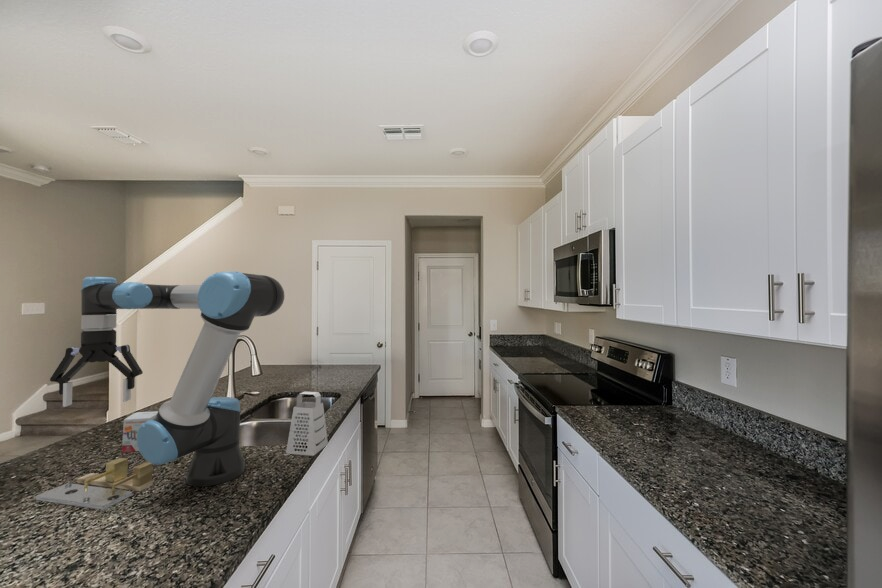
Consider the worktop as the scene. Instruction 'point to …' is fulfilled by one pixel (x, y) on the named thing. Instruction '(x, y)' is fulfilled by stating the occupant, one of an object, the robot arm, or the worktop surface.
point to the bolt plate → (84, 496)
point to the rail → (126, 479)
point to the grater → (307, 426)
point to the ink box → (134, 429)
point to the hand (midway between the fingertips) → (97, 403)
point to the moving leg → (112, 472)
